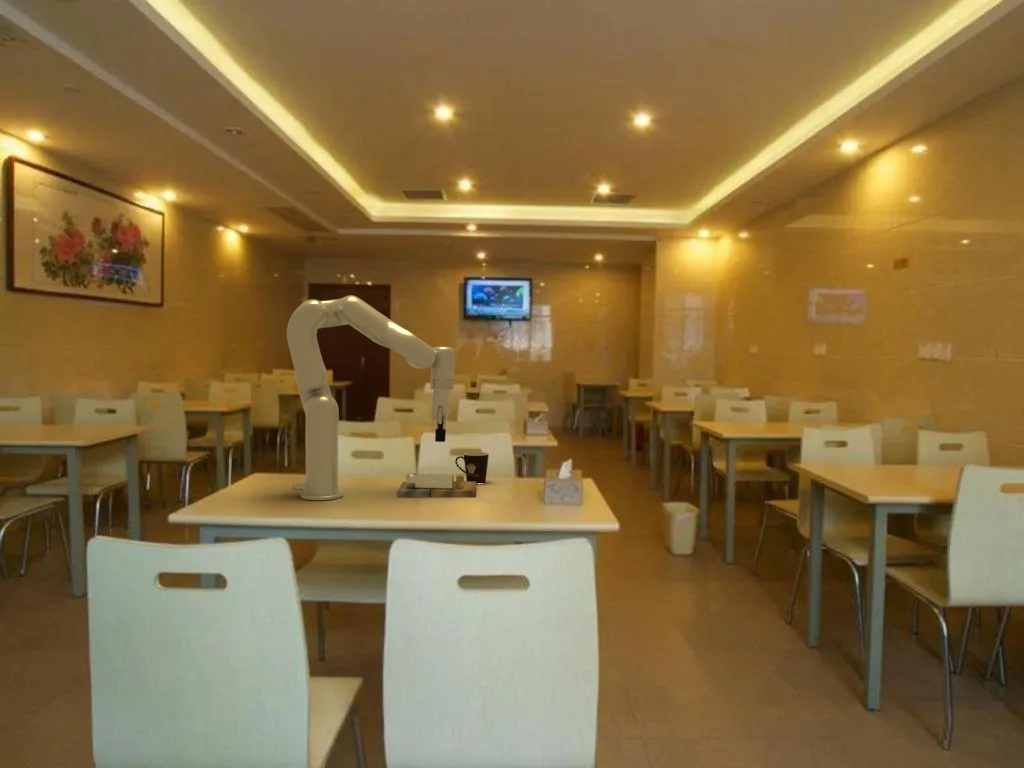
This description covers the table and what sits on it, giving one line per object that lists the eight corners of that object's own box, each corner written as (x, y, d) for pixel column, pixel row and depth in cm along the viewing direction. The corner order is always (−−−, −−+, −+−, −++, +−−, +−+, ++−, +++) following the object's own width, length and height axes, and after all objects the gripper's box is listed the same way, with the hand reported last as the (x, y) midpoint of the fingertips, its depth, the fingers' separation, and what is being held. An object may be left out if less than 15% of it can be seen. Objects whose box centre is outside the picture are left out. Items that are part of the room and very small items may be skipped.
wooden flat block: (397, 497, 210) (397, 477, 210) (403, 487, 226) (403, 469, 226) (475, 497, 211) (475, 477, 211) (476, 487, 227) (476, 469, 227)
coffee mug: (493, 483, 235) (493, 454, 235) (473, 486, 230) (473, 456, 229) (473, 478, 244) (473, 450, 244) (453, 481, 238) (453, 452, 238)
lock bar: (404, 487, 213) (404, 475, 213) (407, 485, 217) (407, 473, 217) (452, 488, 212) (452, 475, 212) (453, 486, 216) (453, 473, 215)
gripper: (432, 383, 230) (430, 438, 230) (428, 385, 215) (426, 443, 215) (454, 384, 230) (452, 439, 230) (452, 386, 215) (450, 444, 215)
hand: (440, 441), depth 223 cm, fingers closed
